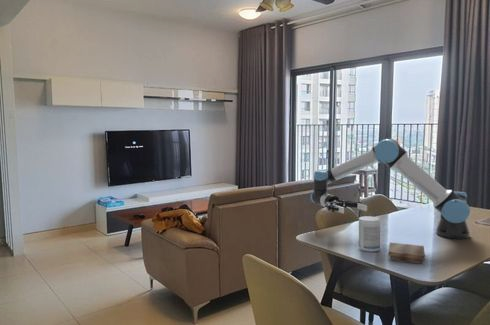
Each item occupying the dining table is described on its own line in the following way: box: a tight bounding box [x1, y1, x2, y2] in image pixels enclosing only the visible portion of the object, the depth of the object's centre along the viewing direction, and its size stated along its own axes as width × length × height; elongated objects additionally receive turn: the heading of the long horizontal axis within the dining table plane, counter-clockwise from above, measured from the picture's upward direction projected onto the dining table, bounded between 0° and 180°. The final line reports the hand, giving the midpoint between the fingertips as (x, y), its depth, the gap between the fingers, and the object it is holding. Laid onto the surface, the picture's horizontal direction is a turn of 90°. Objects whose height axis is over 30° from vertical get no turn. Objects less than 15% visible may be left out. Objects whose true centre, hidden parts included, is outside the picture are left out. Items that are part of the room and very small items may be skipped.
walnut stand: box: [387, 242, 426, 265], centre depth 161 cm, size 14×14×4 cm
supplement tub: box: [358, 215, 381, 253], centre depth 173 cm, size 10×10×15 cm
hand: (355, 209), depth 181 cm, fingers open, 13 cm apart
